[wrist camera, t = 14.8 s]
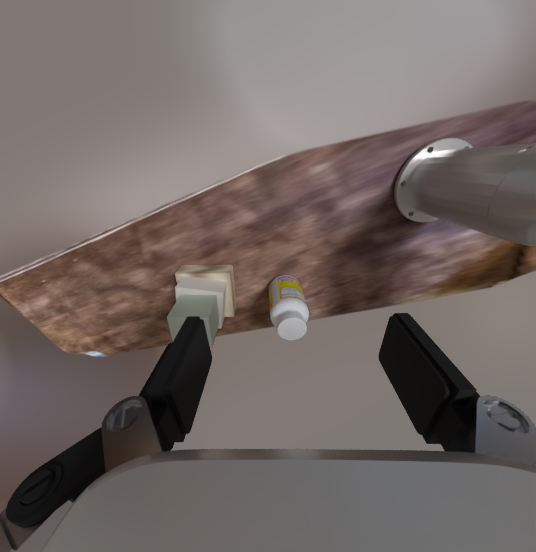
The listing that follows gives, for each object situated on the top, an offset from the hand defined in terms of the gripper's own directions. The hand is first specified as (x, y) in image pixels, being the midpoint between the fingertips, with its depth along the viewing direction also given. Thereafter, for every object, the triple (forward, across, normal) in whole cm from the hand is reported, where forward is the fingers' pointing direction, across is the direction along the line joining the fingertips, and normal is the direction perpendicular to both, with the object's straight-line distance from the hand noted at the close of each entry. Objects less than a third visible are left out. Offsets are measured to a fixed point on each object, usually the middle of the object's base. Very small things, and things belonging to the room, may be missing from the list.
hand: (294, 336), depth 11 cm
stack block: (+22, +14, +15) cm, 30 cm away
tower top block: (+26, +15, +15) cm, 33 cm away
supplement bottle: (+30, -1, +16) cm, 34 cm away
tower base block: (+30, +15, +15) cm, 36 cm away
